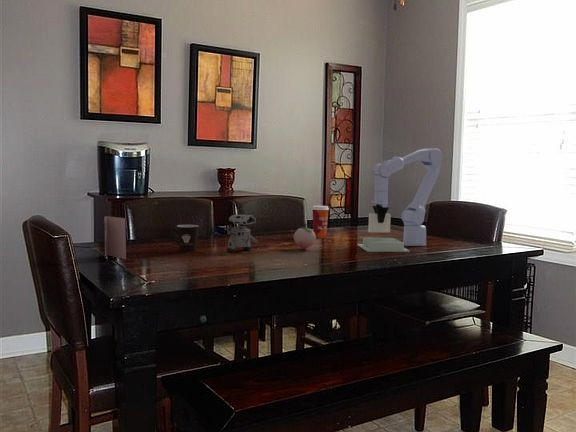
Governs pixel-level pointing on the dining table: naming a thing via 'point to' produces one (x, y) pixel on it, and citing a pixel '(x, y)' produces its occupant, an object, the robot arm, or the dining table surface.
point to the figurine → (240, 232)
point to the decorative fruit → (304, 237)
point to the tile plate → (379, 227)
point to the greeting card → (115, 237)
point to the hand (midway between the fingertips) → (379, 222)
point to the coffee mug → (186, 237)
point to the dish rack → (383, 245)
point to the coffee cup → (320, 221)
